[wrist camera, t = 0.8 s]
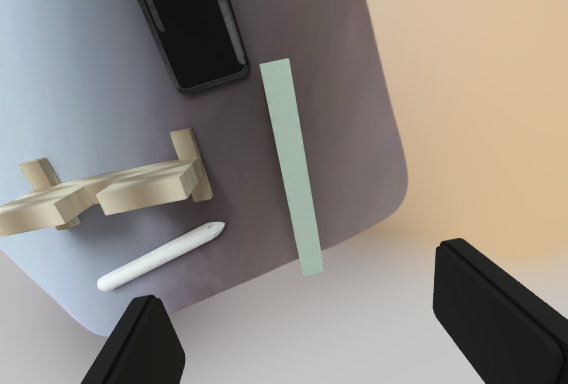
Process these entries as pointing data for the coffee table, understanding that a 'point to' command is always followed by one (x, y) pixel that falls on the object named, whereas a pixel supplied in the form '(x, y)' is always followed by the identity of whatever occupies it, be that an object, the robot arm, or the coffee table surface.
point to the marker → (160, 255)
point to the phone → (197, 42)
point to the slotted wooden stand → (106, 190)
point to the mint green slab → (292, 162)
